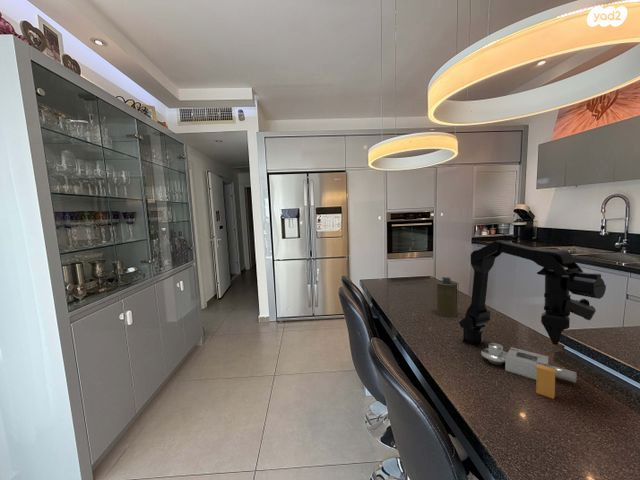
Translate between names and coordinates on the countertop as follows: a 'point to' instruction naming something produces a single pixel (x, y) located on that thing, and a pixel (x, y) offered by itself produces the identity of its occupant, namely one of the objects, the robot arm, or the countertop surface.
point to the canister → (447, 297)
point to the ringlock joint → (522, 362)
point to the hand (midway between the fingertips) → (556, 339)
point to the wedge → (545, 381)
